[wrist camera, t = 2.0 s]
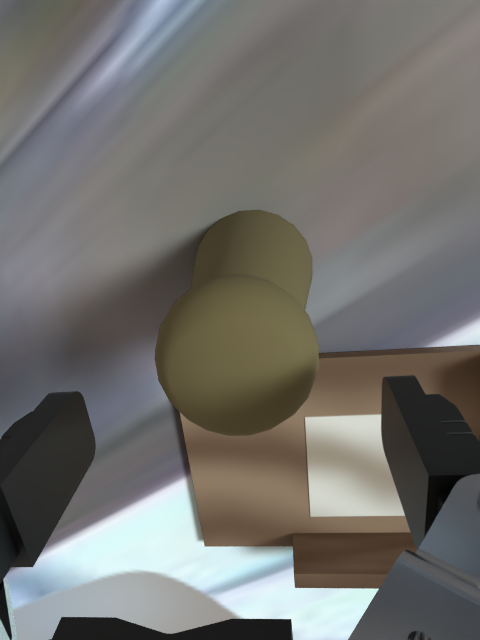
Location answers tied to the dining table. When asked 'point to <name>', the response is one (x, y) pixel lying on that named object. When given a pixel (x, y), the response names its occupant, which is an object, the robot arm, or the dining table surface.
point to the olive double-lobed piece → (242, 328)
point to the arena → (326, 468)
